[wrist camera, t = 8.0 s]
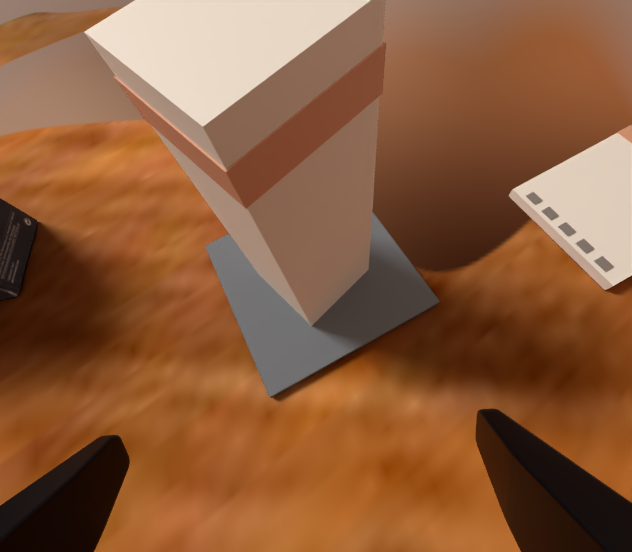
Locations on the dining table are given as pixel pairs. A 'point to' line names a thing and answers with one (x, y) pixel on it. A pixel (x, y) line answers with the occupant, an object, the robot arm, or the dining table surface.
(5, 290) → the small box
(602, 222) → the cream block pink end
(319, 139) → the beige tall block
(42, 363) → the dining table surface
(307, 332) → the mat
